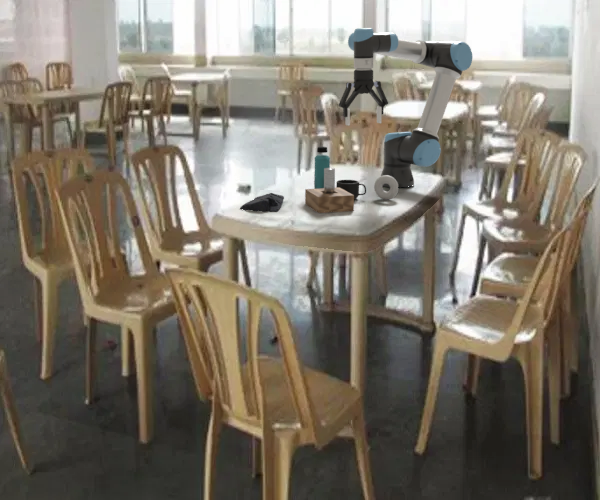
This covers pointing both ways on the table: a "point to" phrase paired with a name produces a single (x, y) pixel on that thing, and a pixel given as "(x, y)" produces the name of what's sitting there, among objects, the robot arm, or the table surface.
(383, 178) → the donut
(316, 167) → the beverage bottle
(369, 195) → the table surface
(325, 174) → the pin
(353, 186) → the mug
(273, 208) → the dark slate chunk
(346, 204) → the block
